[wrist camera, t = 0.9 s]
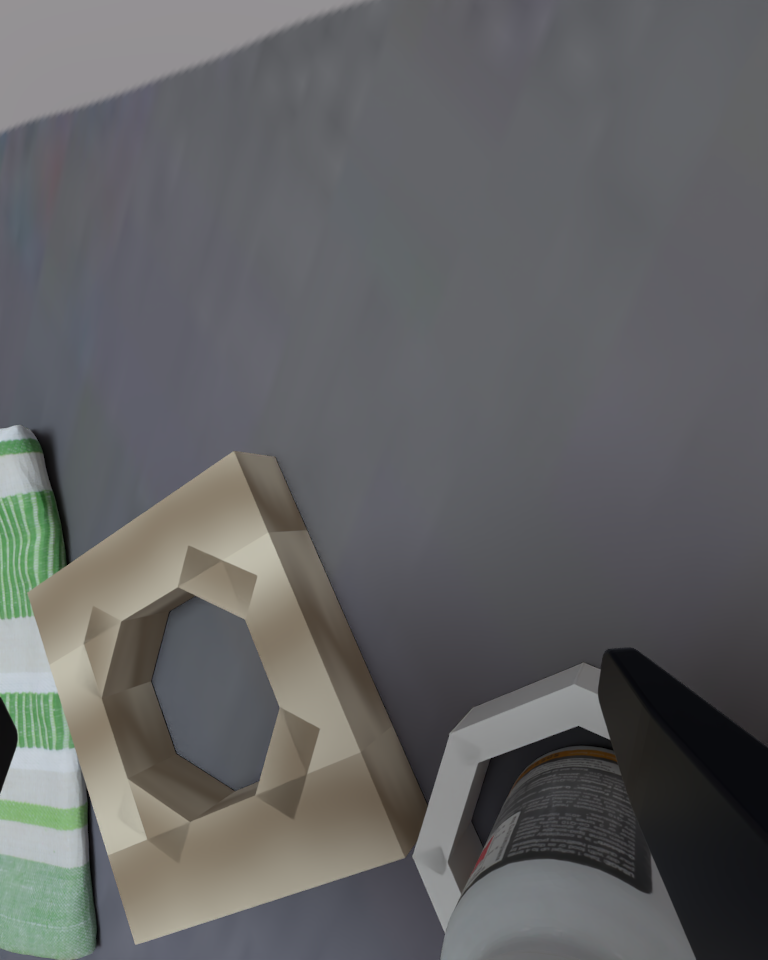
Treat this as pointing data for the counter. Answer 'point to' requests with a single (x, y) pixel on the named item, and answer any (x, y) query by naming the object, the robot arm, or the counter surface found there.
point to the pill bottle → (566, 873)
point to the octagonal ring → (477, 738)
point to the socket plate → (294, 679)
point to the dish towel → (37, 732)
